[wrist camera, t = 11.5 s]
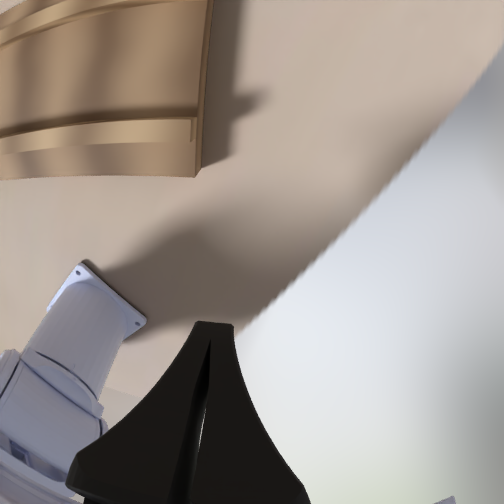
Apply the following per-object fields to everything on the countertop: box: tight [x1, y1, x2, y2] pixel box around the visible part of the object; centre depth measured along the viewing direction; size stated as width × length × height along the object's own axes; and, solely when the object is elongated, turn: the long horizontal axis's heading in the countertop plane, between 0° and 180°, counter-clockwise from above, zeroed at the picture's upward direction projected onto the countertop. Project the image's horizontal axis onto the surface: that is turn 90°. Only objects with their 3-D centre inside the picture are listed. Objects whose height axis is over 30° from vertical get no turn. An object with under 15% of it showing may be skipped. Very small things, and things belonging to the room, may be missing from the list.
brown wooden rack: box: [0, 0, 214, 180], centre depth 12 cm, size 24×14×4 cm, turn 85°
